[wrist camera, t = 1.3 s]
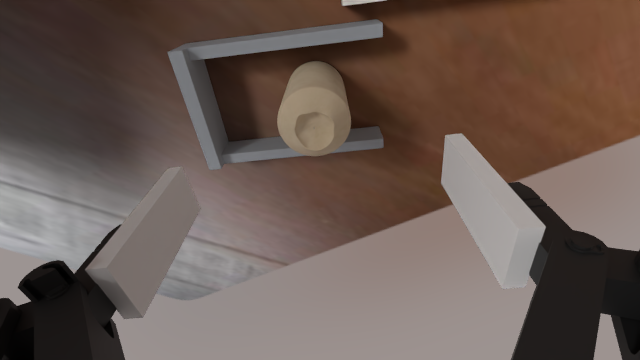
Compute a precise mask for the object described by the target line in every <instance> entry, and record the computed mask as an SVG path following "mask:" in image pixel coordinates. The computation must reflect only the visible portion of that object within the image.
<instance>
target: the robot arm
mask: <svg viewBox="0 0 640 360" xmlns="http://www.w3.org/2000/svg"><path fill="white" fill-rule="evenodd" d="M441 184H442V186H443V187H444V189H445V191H446V192H447V194H448V196H449V198H450V199H451V201H452V203H453V205H454V206H455V208H456V210H457V211H458V213H459V214H460V217H461V218H462V220H463V222H464V223H465V225H466V227H467V229H468V230H469V232H470V234H471V235H472V237H473V239H474V241H475V242H476V244H477V246H478V248H479V249H480V251H481V253H482V255H483V256H484V258H485V260H486V261H487V263H488V265H489V266H490V268H491V270H492V272H493V274H494V275H495V277H496V279H497V280H498V282H499V284H500V286H501V287H502V289H507V288H521V287H526V284H527V281H528V278H529V275H530V276H531V278H532V279H533V281H534V282H535V284H536V285H537V286H536V289H535V291H534V294H533V297H532V300H531V302H530V306H529V309H528V312H527V315H526V318H525V320H524V324H523V326H522V329H521V332H520V335H519V338H518V341H517V344H516V347H515V349H514V352H513V355H512V358H511V360H593V358H594V352H595V346H596V339H597V333H598V326H599V319H600V314H601V313H603V314H608V315H611V317H612V321H613V325H614V329H615V333H616V337H617V340H618V344H619V348H620V352H621V355H622V360H640V250H639V251H631V250H623V249H615V248H608V247H607V246H606V245H605V244H604V243H603V242H602V241H601V240H599V239H597V238H596V237H594V236H592V235H589V234H587V233H584V232H579V231H574V230H572V229H571V228H570V227H569V226H568V225H567V224H566V223H565V222H564V221H563V220H562V219H561V218H560V217H559V216H558V215H557V214H556V213H555V212H554V211H553V210H552V209H551V208H550V207H549V206H547V204H546V203H545V202H544V201H543V200H542V199H540V197H539V196H538V195H537V194H536V193H535V192H534V191H533V190H532V189H531V188H529V187H527V186H525V185H523V184H521V183H520V182H514V183H506V182H505V181H504V180H503V178H502V177H501V176H500V175H499V174H498V173H497V172H496V171H495V170H494V168H493V167H492V166H491V165H490V164H489V163H488V162H487V161H486V160H485V158H484V157H483V156H482V155H481V154H480V153H479V152H478V151H477V150H476V148H475V147H474V146H473V145H472V144H471V143H470V142H469V141H468V140H467V138H466V137H465V136H464V135H463V134H462V133H460V134H451V135H445V144H444V156H443V167H442V178H441ZM200 209H201V208H200V206H199V204H198V201H197V199H196V197H195V194H194V192H193V190H192V188H191V185H190V183H189V181H188V178H187V176H186V174H185V172H184V169H183V167H174V168H168V169H167V170H166V171H165V172H164V174H163V175H162V176H161V177H160V179H159V180H158V181H157V182H156V183H155V185H154V186H153V187H152V188H151V190H150V191H149V192H148V193H147V194H146V196H145V197H144V198H143V199H142V201H141V202H140V203H139V204H138V205H137V207H136V208H135V209H134V210H133V212H132V213H131V214H130V215H129V217H128V218H127V219H126V220H125V221H124V223H123V224H122V225H119V226H117V227H116V228H115V229H113V230H112V231H111V232H109V233H108V234H107V236H106V237H105V238H104V239H103V240H102V242H101V244H99V245H98V246H97V247H96V249H95V251H94V252H92V253H91V255H90V256H89V257H88V258H87V259H86V261H85V262H84V263H83V264H82V265H81V266H80V268H79V269H78V270H77V271H76V273H75V274H74V273H73V272H72V271H71V270H70V269H69V267H68V266H67V265H66V264H65V263H64V261H59V260H57V261H51V262H49V263H46V264H43V265H41V266H39V267H38V268H36V269H34V270H33V271H31V272H30V273H29V274H28V275H26V276H25V277H24V278H23V279H22V281H21V282H20V284H19V286H18V288H19V289H20V290H21V291H22V292H23V293H24V294H25V295H26V296H27V297H28V298H29V299H30V300H31V302H28V303H25V304H22V305H19V306H16V305H15V304H14V303H13V302H12V301H11V300H10V299H9V298H1V299H0V360H125V358H124V354H123V350H122V346H121V343H120V339H119V335H118V332H117V328H116V324H115V323H114V321H113V320H112V319H111V317H112V316H113V314H114V312H115V311H116V309H117V311H118V312H119V313H120V314H121V316H122V317H123V318H124V319H129V318H142V317H143V316H144V315H145V313H146V311H147V309H148V307H149V305H150V303H151V301H152V299H153V298H154V296H155V294H156V292H157V290H158V288H159V286H160V285H161V283H162V281H163V279H164V277H165V275H166V273H167V271H168V269H169V268H170V266H171V264H172V262H173V260H174V258H175V256H176V254H177V253H178V251H179V249H180V247H181V245H182V243H183V241H184V239H185V237H186V236H187V234H188V232H189V230H190V228H191V226H192V224H193V222H194V220H195V219H196V217H197V215H198V213H199V211H200Z"/></svg>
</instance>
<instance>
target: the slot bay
mask: <svg viewBox="0 0 640 360" xmlns="http://www.w3.org/2000/svg"><path fill="white" fill-rule="evenodd" d="M379 37H383V23H382V22H380V21H379V20H378V19H374V20H366V21H358V22H350V23H342V24H335V25H327V26H319V27H311V28H303V29H295V30H288V31H280V32H272V33H264V34H256V35H248V36H241V37H233V38H225V39H217V40H209V41H201V42H194V43H186V44H184V45H182V46H179V47H177V48H175V49H173V50H171V51H169V52H167V53H168V56H169V59H170V61H171V64H172V67H173V70H174V73H175V75H176V78H177V81H178V84H179V86H180V89H181V92H182V95H183V98H184V100H185V103H186V106H187V109H188V112H189V114H190V117H191V120H192V123H193V125H194V128H195V131H196V134H197V137H198V139H199V142H200V145H201V148H202V150H203V153H204V156H205V159H206V162H207V164H208V167H209V170H214V169H222V167H223V165H224V164H226V163H237V162H247V161H257V160H267V159H277V158H287V157H297V156H307V155H303V154H300V153H298V152H296V151H294V150H293V149H291V148H290V147H289V146H288V145H287V144H286V143H285V142H284V140H283V139H282V137H281V136H279V137H270V138H260V139H251V140H241V141H231V142H229V141H228V137H227V134H226V131H225V128H224V124H223V121H222V118H221V114H220V111H219V108H218V104H217V101H216V98H215V95H214V91H213V88H212V85H211V81H210V78H209V75H208V71H207V68H206V65H205V61H204V59H209V58H217V57H225V56H233V55H241V54H249V53H258V52H266V51H274V50H282V49H290V48H298V47H306V46H314V45H322V44H330V43H339V42H347V41H355V40H363V39H371V38H379ZM377 148H383V136H382V134H381V131H380V128H379V126H375V127H366V128H356V129H350V132H349V135H348V137H347V139H346V140H345V142H344V143H343V144H342V145H341V146H340V147H339V148H338V149H336V150H335V151H333V152H331V153H337V152H347V151H357V150H367V149H377Z"/></svg>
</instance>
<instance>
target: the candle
mask: <svg viewBox="0 0 640 360" xmlns="http://www.w3.org/2000/svg"><path fill="white" fill-rule="evenodd" d="M277 125H278V130H279V133H280V135H281V137H282V139H283V140H284V142H285V143H286V144H287V145H288V146H289V147H290V148H291V149H293V150H294V151H296V152H298V153H300V154H303V155H307V156H322V155H326V154H329V153H331V152H333V151H335V150H336V149H338V148H339V147H340V146H341V145H342V144H343V143H344V142H345V140H346V139H347V137H348V135H349V132H350V128H351V116H350V111H349V106H348V101H347V96H346V91H345V87H344V83H343V80H342V77H341V75H340V74H339V72H338V71H337V70H336V69H335V68H334V67H332V66H331V65H329V64H327V63H325V62H321V61H311V62H307V63H305V64H303V65H301V66H299V67H298V68H297V69H296V70H295V71H294V72H293V74H292V75H291V77H290V79H289V82H288V85H287V88H286V91H285V94H284V97H283V100H282V103H281V106H280V109H279V112H278V117H277Z"/></svg>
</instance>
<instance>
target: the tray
mask: <svg viewBox="0 0 640 360" xmlns="http://www.w3.org/2000/svg"><path fill="white" fill-rule="evenodd" d="M377 1H385V0H341V4H342V6H347V5H354V4H362V3H370V2H377Z"/></svg>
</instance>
